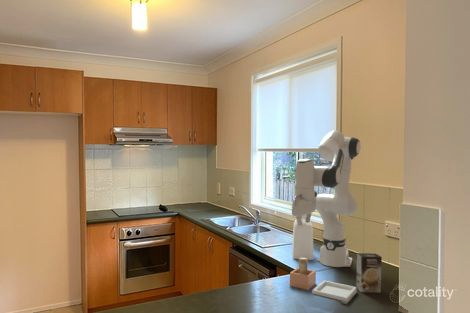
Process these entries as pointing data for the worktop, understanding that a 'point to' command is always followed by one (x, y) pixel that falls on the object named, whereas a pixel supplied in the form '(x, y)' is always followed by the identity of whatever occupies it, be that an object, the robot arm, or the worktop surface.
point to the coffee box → (368, 272)
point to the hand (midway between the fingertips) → (303, 223)
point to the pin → (303, 266)
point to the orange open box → (303, 279)
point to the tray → (335, 291)
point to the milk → (302, 240)
